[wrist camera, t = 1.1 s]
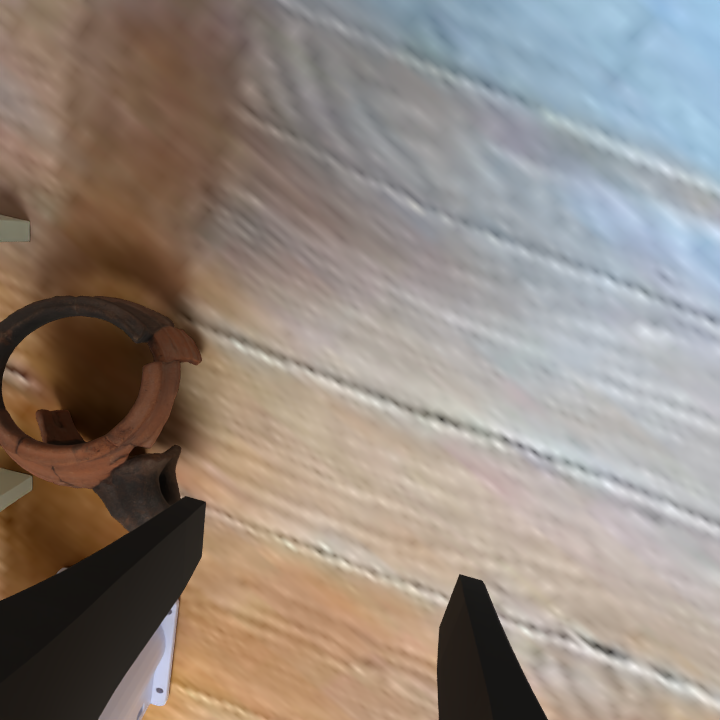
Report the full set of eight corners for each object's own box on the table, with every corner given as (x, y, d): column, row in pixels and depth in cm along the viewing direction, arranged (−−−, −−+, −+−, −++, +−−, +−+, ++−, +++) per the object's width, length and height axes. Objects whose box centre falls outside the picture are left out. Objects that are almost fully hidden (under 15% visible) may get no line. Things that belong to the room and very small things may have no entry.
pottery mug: (22, 380, 25) (-107, 347, 17) (172, 299, 27) (120, 236, 19) (128, 559, 24) (44, 615, 16) (275, 460, 26) (266, 465, 18)
